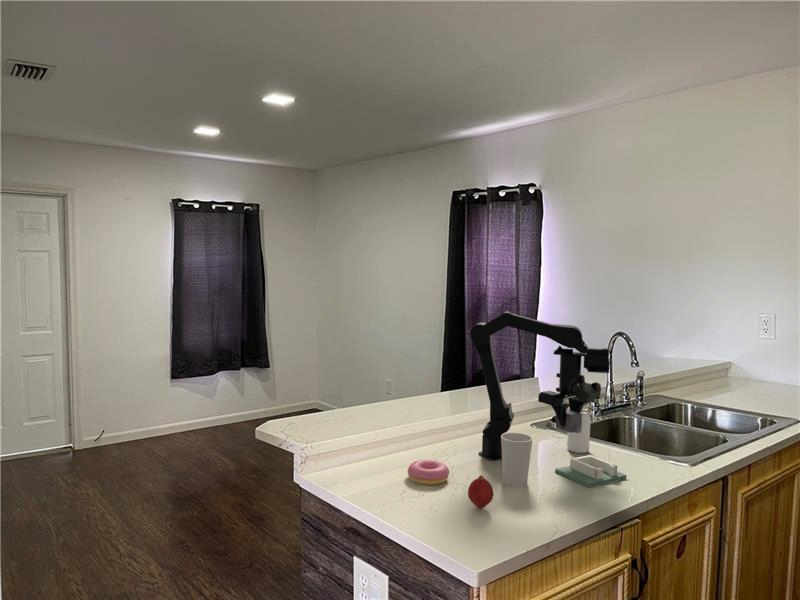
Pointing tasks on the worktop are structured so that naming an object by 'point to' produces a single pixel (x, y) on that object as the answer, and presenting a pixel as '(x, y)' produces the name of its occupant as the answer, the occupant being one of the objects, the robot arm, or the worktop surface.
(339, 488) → the worktop surface
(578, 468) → the board
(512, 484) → the cup
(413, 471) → the doughnut
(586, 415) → the can
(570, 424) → the plug
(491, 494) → the onion
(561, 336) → the robot arm
